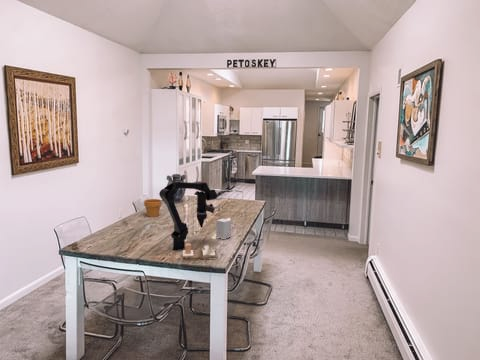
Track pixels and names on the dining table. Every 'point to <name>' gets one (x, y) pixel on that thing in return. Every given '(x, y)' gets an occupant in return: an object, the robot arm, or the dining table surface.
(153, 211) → the flower pot
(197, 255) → the ticket board
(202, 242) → the dining table surface
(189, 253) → the stub
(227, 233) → the supplement box
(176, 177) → the decorative vase
